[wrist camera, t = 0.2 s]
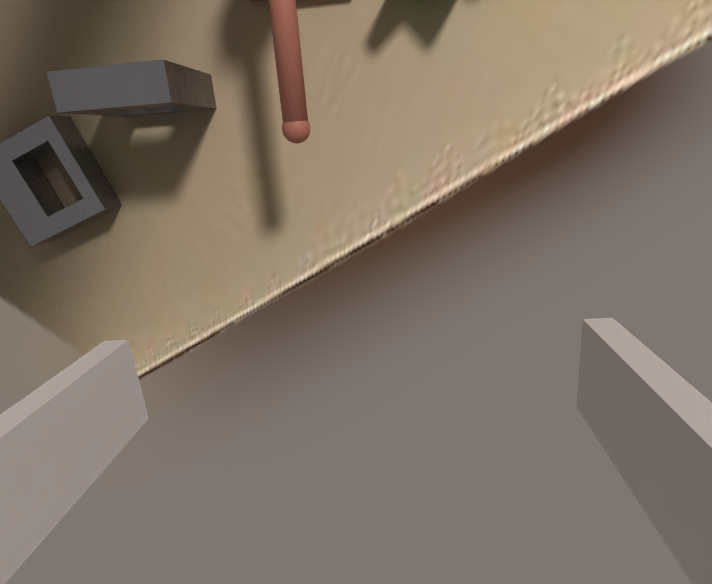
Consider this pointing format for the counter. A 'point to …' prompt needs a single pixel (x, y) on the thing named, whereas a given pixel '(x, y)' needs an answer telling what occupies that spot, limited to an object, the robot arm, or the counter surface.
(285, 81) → the hook
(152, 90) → the link
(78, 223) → the link
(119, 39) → the counter surface
